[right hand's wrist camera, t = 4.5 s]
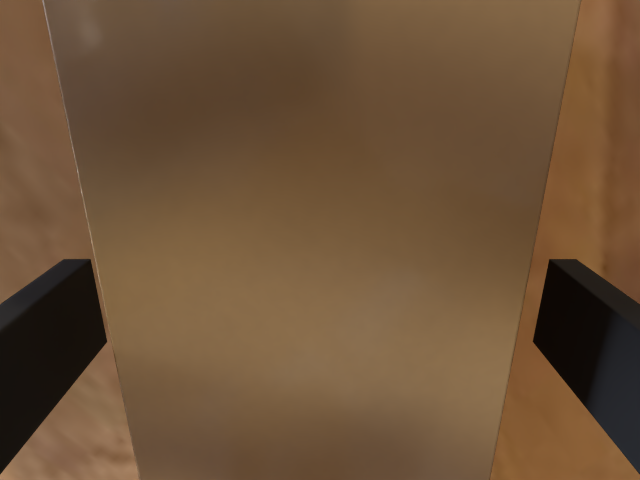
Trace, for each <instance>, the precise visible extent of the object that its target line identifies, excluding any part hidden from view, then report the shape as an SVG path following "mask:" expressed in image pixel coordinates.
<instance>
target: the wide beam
mask: <svg viewBox="0 0 640 480" xmlns="http://www.w3.org/2000/svg"><path fill="white" fill-rule="evenodd" d="M42 2H43V7H44V12H45V16H46V21H47V26H48V31H49V36H50V41H51V46H52V51H53V56H54V61H55V66H56V71H57V76H58V80H59V85H60V90H61V95H62V100H63V105H64V110H65V115H66V120H67V125H68V130H69V135H70V140H71V145H72V149H73V154H74V159H75V164H76V169H77V174H78V179H79V184H80V189H81V194H82V199H83V204H84V209H85V214H86V218H87V223H88V228H89V233H90V238H91V243H92V248H93V253H94V258H95V263H96V268H97V273H98V278H99V283H100V287H101V292H102V297H103V302H104V307H105V312H106V317H107V322H108V327H109V332H110V337H111V342H112V347H113V351H114V356H115V361H116V366H117V371H118V376H119V381H120V386H121V391H122V396H123V401H124V406H125V411H126V416H127V420H128V425H129V430H130V435H131V440H132V445H133V450H134V455H135V460H136V465H137V470H138V475H139V480H490V475H491V470H492V465H493V460H494V454H495V449H496V444H497V439H498V433H499V428H500V423H501V418H502V413H503V407H504V402H505V397H506V392H507V386H508V381H509V376H510V371H511V365H512V360H513V355H514V350H515V344H516V339H517V334H518V329H519V323H520V318H521V313H522V308H523V302H524V297H525V292H526V287H527V282H528V276H529V271H530V266H531V261H532V255H533V250H534V245H535V240H536V234H537V229H538V224H539V219H540V213H541V208H542V203H543V198H544V192H545V187H546V182H547V177H548V171H549V166H550V161H551V156H552V151H553V145H554V140H555V135H556V130H557V124H558V119H559V114H560V109H561V103H562V98H563V93H564V88H565V82H566V77H567V72H568V67H569V61H570V56H571V51H572V46H573V40H574V35H575V30H576V25H577V20H578V14H579V9H580V4H581V0H42Z"/></svg>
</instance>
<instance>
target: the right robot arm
mask: <svg viewBox="0 0 640 480" xmlns="http://www.w3.org/2000/svg"><path fill="white" fill-rule="evenodd" d="M106 342H107V339H106V334H105V329H104V324H103V319H102V314H101V309H100V304H99V299H98V294H97V289H96V284H95V279H94V274H93V269H92V264H91V259H64V260H62V261H61V262H59V263H58V264H57V265H55V266H54V267H52V268H51V269H49V270H48V271H47V272H45V273H44V274H42V275H41V276H40V277H38V278H37V279H35V280H34V281H33V282H31V283H30V284H28V285H27V286H26V287H24V288H23V289H21V290H20V291H18V292H17V293H16V294H14V295H13V296H11V297H10V298H9V299H7V300H6V301H4V302H3V303H2V304H0V474H1V473H2V472H3V470H4V469H5V468H6V467H7V465H8V464H9V463H10V462H11V460H12V459H13V458H14V457H15V455H16V454H17V453H18V452H19V450H20V449H21V448H22V447H23V445H24V444H25V443H26V442H27V441H28V439H29V438H30V437H31V436H32V434H33V433H34V432H35V431H36V429H37V428H38V427H39V426H40V424H41V423H42V422H43V421H44V419H45V418H46V417H47V416H48V414H49V413H50V412H51V411H52V409H53V408H54V407H55V406H56V405H57V403H58V402H59V401H60V400H61V398H62V397H63V396H64V395H65V393H66V392H67V391H68V390H69V388H70V387H71V386H72V385H73V383H74V382H75V381H76V380H77V378H78V377H79V376H80V375H81V374H82V372H83V371H84V370H85V369H86V367H87V366H88V365H89V364H90V362H91V361H92V360H93V359H94V357H95V356H96V355H97V354H98V352H99V351H100V350H101V349H102V347H103V346H104V345H105V344H106ZM533 342H534V344H535V345H536V346H537V347H538V349H539V350H540V351H541V352H542V354H543V355H544V356H545V357H546V359H547V360H548V361H549V362H550V364H551V365H552V366H553V367H554V369H555V370H556V371H557V372H558V374H559V375H560V376H561V377H562V378H563V380H564V381H565V382H566V383H567V385H568V386H569V387H570V388H571V390H572V391H573V392H574V393H575V395H576V396H577V397H578V398H579V400H580V401H581V402H582V403H583V405H584V406H585V407H586V408H587V409H588V411H589V412H590V413H591V414H592V416H593V417H594V418H595V419H596V421H597V422H598V423H599V424H600V426H601V427H602V428H603V429H604V431H605V432H606V433H607V434H608V436H609V437H610V438H611V439H612V441H613V442H614V443H615V444H616V445H617V447H618V448H619V449H620V450H621V452H622V453H623V454H624V455H625V457H626V458H627V459H628V460H629V462H630V463H631V464H632V465H633V467H634V468H635V469H636V470H637V472H638V473H639V474H640V304H638V303H637V302H636V301H634V300H633V299H631V298H630V297H629V296H627V295H626V294H624V293H623V292H622V291H620V290H619V289H617V288H616V287H614V286H613V285H612V284H610V283H609V282H607V281H606V280H605V279H603V278H602V277H600V276H599V275H598V274H596V273H595V272H593V271H592V270H591V269H589V268H588V267H586V266H585V265H583V264H582V263H581V262H579V261H578V260H576V259H549V264H548V269H547V274H546V279H545V284H544V289H543V294H542V299H541V304H540V309H539V314H538V319H537V324H536V329H535V334H534V339H533Z"/></svg>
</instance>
